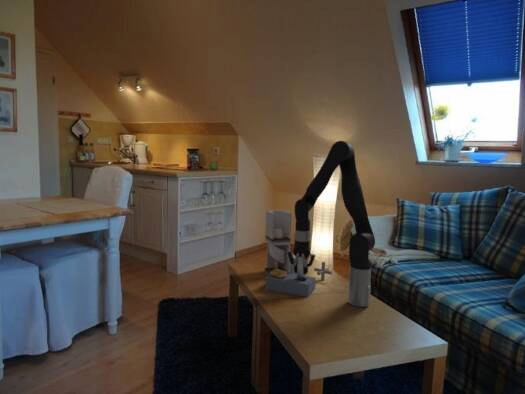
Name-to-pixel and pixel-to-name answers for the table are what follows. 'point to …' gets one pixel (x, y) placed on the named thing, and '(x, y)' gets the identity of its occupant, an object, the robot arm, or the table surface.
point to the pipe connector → (323, 271)
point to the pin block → (291, 285)
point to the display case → (278, 240)
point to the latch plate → (279, 273)
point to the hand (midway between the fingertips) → (300, 273)
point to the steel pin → (300, 270)
